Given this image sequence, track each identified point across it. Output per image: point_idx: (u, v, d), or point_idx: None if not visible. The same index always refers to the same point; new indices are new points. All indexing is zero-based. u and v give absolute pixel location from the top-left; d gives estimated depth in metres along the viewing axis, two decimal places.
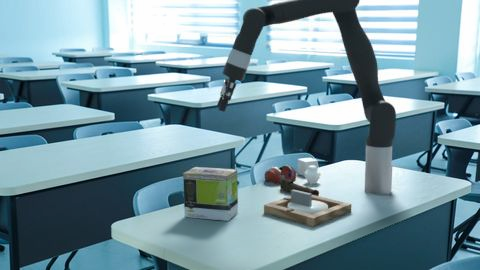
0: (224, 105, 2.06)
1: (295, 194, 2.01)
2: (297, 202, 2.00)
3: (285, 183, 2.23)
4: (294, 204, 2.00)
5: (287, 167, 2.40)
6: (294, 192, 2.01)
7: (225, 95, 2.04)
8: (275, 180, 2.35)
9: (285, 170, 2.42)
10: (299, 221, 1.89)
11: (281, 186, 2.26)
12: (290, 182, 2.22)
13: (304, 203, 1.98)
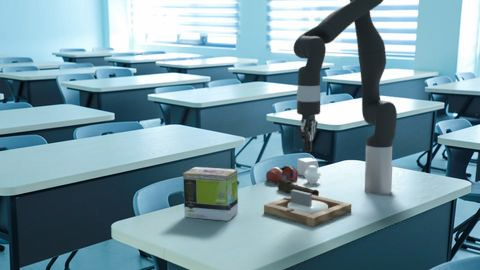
0: (307, 146, 1.99)
1: (295, 194, 2.01)
2: (297, 202, 2.00)
3: (283, 184, 2.22)
4: (294, 204, 2.00)
5: (289, 167, 2.40)
6: (294, 192, 2.01)
7: (302, 136, 1.97)
8: (276, 180, 2.34)
9: (287, 170, 2.42)
10: (299, 221, 1.89)
11: (279, 187, 2.25)
12: (288, 182, 2.21)
13: (304, 203, 1.98)
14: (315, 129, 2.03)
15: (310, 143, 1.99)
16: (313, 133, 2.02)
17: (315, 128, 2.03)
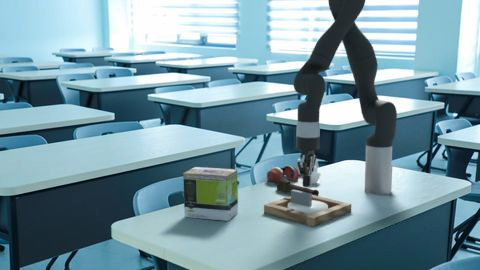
0: (305, 181, 2.01)
1: (295, 194, 2.01)
2: (297, 202, 2.00)
3: (282, 184, 2.22)
4: (294, 204, 2.00)
5: (290, 167, 2.40)
6: (294, 192, 2.01)
7: (301, 171, 1.99)
8: (277, 180, 2.34)
9: (288, 170, 2.42)
10: (299, 221, 1.89)
11: (278, 187, 2.25)
12: (288, 183, 2.21)
13: (304, 203, 1.98)
14: (314, 164, 2.05)
15: (309, 178, 2.01)
16: (312, 168, 2.04)
17: (314, 163, 2.05)
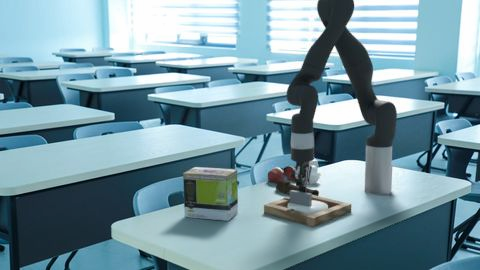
0: None
1: (294, 194, 2.00)
2: (296, 202, 2.00)
3: (282, 184, 2.22)
4: (294, 205, 1.99)
5: (291, 168, 2.40)
6: (293, 192, 2.00)
7: (297, 183, 1.99)
8: (277, 180, 2.34)
9: (289, 171, 2.41)
10: (299, 221, 1.89)
11: (277, 187, 2.25)
12: (287, 183, 2.21)
13: (304, 203, 1.98)
14: (309, 174, 2.05)
15: (305, 188, 2.01)
16: (307, 178, 2.04)
17: (309, 173, 2.04)
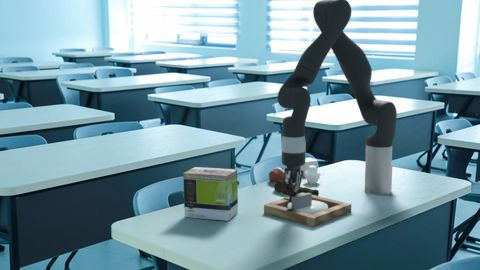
0: None
1: (299, 199, 1.95)
2: (301, 206, 1.96)
3: (281, 184, 2.21)
4: (303, 209, 1.95)
5: None
6: (298, 198, 1.94)
7: (287, 187, 1.94)
8: None
9: None
10: (299, 221, 1.89)
11: (276, 187, 2.24)
12: None
13: (308, 203, 1.97)
14: (301, 178, 1.99)
15: (295, 194, 1.96)
16: (298, 183, 1.98)
17: (301, 177, 1.99)
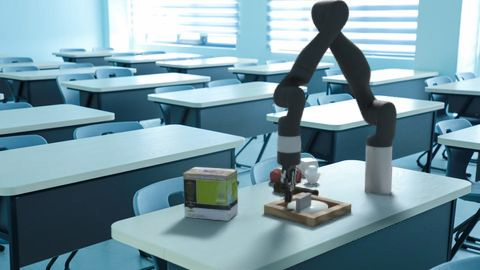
0: (287, 196, 1.95)
1: (303, 200, 1.94)
2: (304, 207, 1.95)
3: None
4: (307, 209, 1.94)
5: None
6: (302, 198, 1.93)
7: (282, 187, 1.93)
8: None
9: None
10: (299, 221, 1.89)
11: (275, 188, 2.24)
12: None
13: (308, 203, 1.97)
14: (296, 178, 1.99)
15: (291, 193, 1.95)
16: (294, 183, 1.98)
17: (296, 177, 1.99)
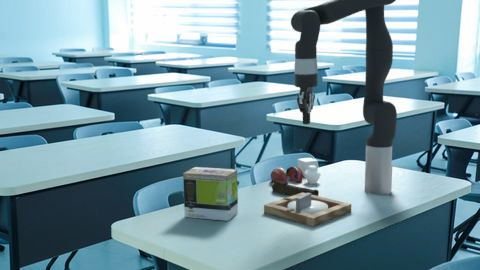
0: (305, 118, 2.04)
1: (303, 200, 1.94)
2: (304, 207, 1.95)
3: (279, 185, 2.20)
4: (307, 209, 1.94)
5: (294, 168, 2.38)
6: (302, 198, 1.93)
7: (301, 108, 2.02)
8: None
9: (293, 171, 2.40)
10: (299, 221, 1.89)
11: (274, 188, 2.23)
12: (285, 184, 2.20)
13: (308, 203, 1.97)
14: (313, 102, 2.08)
15: (308, 115, 2.04)
16: (311, 105, 2.07)
17: (313, 101, 2.08)
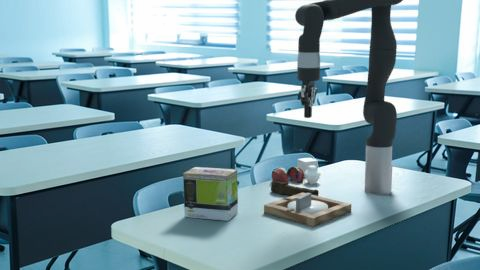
0: (307, 111, 2.06)
1: (303, 200, 1.94)
2: (304, 207, 1.95)
3: (279, 185, 2.20)
4: (307, 209, 1.94)
5: (295, 168, 2.38)
6: (302, 198, 1.93)
7: (302, 102, 2.04)
8: (280, 181, 2.33)
9: (294, 171, 2.40)
10: (299, 221, 1.89)
11: (273, 189, 2.22)
12: (284, 184, 2.19)
13: (308, 203, 1.97)
14: (315, 96, 2.09)
15: (310, 109, 2.06)
16: (313, 99, 2.08)
17: (315, 95, 2.09)
